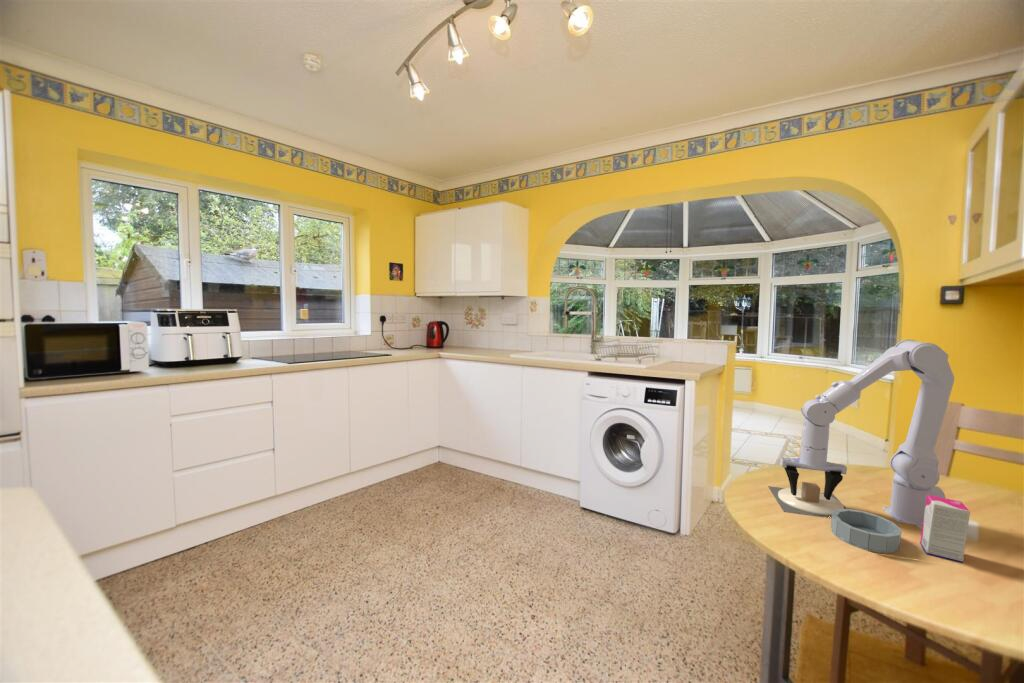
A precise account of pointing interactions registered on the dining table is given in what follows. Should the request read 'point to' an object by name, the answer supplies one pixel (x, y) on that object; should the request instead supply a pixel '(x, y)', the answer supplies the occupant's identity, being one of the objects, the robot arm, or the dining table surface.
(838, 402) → the robot arm
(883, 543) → the bowl
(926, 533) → the supplement box
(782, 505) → the mat
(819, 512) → the lid
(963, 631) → the dining table surface
